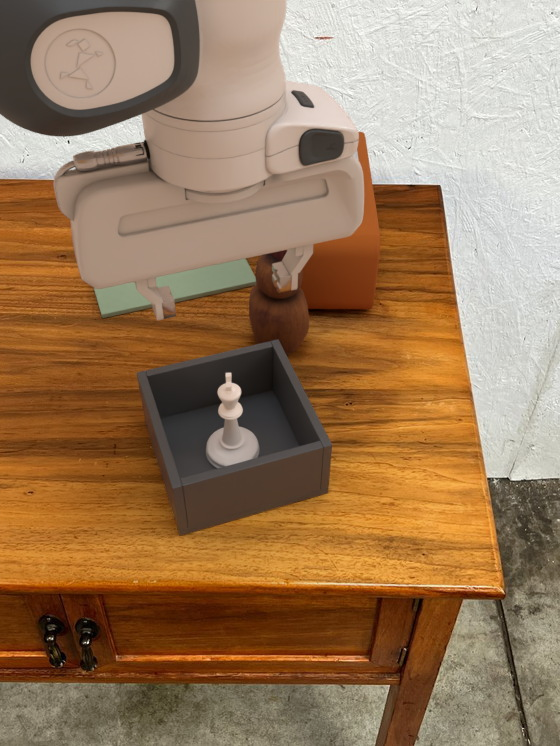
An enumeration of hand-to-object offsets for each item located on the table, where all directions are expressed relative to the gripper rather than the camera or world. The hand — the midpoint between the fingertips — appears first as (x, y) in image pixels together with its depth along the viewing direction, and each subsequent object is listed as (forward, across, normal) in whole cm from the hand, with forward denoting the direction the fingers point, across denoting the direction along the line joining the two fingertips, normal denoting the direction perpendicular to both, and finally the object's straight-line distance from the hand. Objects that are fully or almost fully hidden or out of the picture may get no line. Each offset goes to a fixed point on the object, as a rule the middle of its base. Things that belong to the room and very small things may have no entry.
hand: (225, 300), depth 58 cm
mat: (+19, +1, +31) cm, 36 cm away
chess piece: (+18, 0, 0) cm, 18 cm away
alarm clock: (+19, +20, +26) cm, 38 cm away
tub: (+19, 0, 0) cm, 19 cm away
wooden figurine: (+19, +9, +13) cm, 25 cm away
